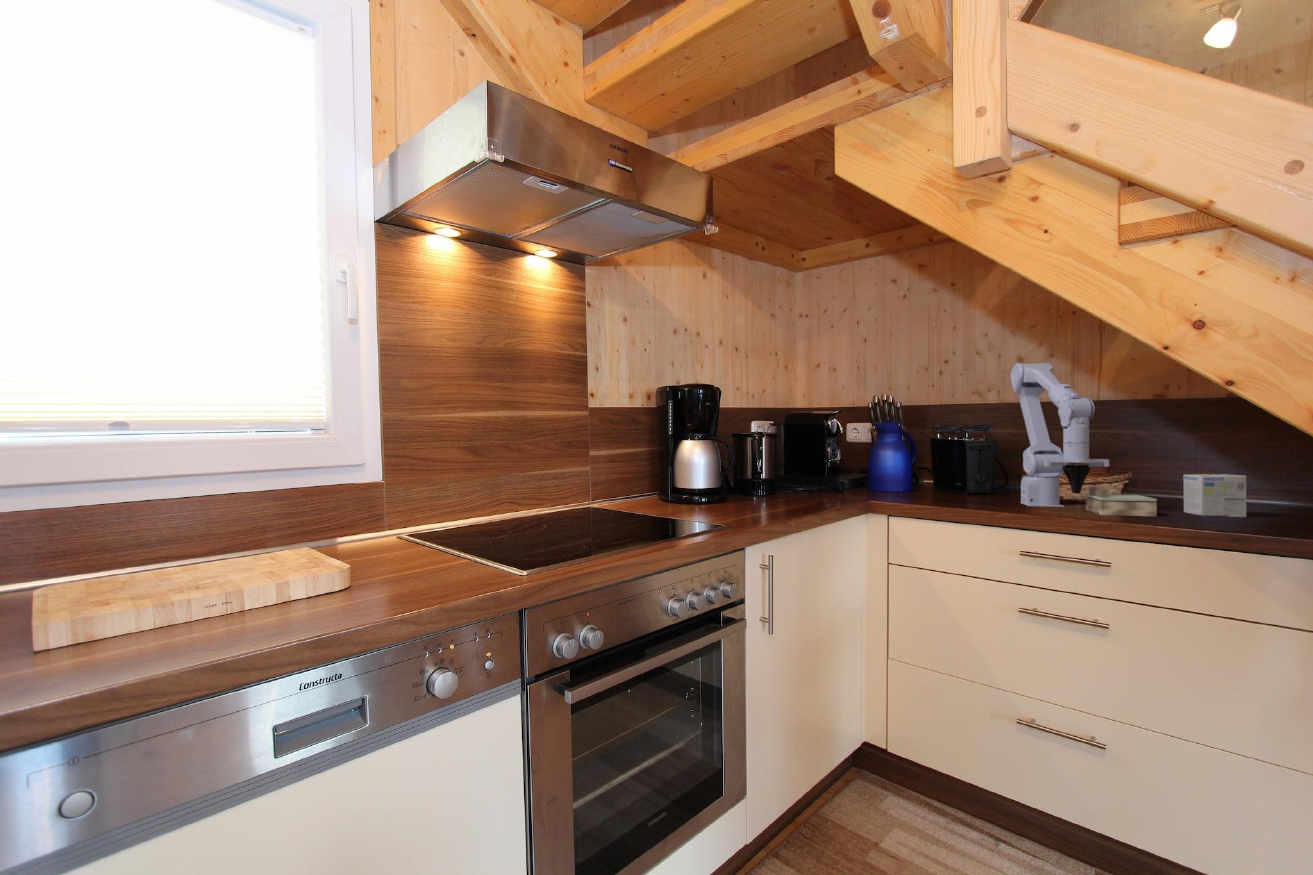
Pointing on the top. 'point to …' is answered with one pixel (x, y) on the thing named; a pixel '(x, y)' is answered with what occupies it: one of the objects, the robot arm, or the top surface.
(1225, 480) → the light bulb box
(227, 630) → the top surface
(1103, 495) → the lid
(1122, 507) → the pine box
